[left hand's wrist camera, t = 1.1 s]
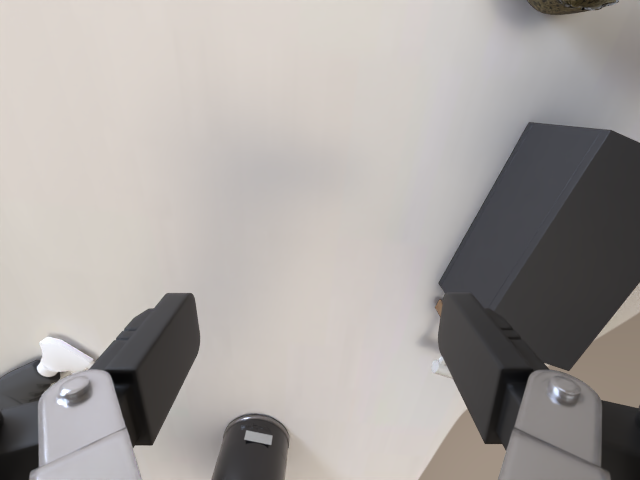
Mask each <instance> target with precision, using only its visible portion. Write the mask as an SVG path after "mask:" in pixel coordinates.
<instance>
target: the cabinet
mask: <svg viewBox="0 0 640 480" xmlns="http://www.w3.org/2000/svg"><path fill="white" fill-rule="evenodd" d="M639 282H640V143H639V142H637V141H634V140H632V139H630V138H628V137H625V136H623V135H621V134H619V133H616V132H614V131H612V130H604V129H593V128H583V127H572V126H562V125H552V124H541V123H532V122H529V124H528V125H527V127H526V129H525V131H524V132H523V134H522V136H521V138H520V140H519V141H518V143H517V145H516V147H515V148H514V150H513V152H512V154H511V156H510V157H509V159H508V161H507V163H506V164H505V166H504V168H503V170H502V172H501V173H500V175H499V177H498V179H497V180H496V182H495V184H494V186H493V187H492V189H491V191H490V193H489V195H488V196H487V198H486V200H485V202H484V203H483V205H482V207H481V209H480V211H479V212H478V214H477V216H476V218H475V219H474V221H473V223H472V225H471V227H470V228H469V230H468V232H467V234H466V235H465V237H464V239H463V241H462V243H461V244H460V246H459V248H458V250H457V251H456V253H455V255H454V257H453V259H452V260H451V262H450V264H449V266H448V267H447V269H446V271H445V273H444V275H443V276H442V278H441V280H440V282H439V285H440V286H441V288H442V289H443V291H444V292H445V294H446V293H472V294H473V295H474V296H475V298H476V299H477V300H478V301H479V303H480V304H481V305H482V306H483V307H484V308H490V309H491V310H493V311H494V312H496V313H498V314H499V315H501V316H502V317H504V318H505V319H506V320H507V322H508V323H509V324H510V325H511V326H512V327H513V330H515V331H516V332H517V333H518V334H519V335H520V336H521V340H524V341H525V342H526V343H527V344H528V346H529V347H530V348H531V349H532V350H533V351H534V353H535V354H536V355H537V356H538V357H539V358H540V359H541V361H542V362H543V363H546V364H549V365H552V366H555V367H558V368H561V369H564V370H567V371H569V370H570V369H571V368H572V367H573V365H574V364H575V363H576V362H577V360H578V359H579V358H580V357H581V355H582V354H583V353H584V352H585V350H586V349H587V348H588V347H589V345H590V344H591V343H592V342H593V340H594V339H595V338H596V337H597V335H598V334H599V333H600V332H601V330H602V329H603V328H604V326H605V325H606V324H607V323H608V321H609V320H610V319H611V318H612V316H613V315H614V314H615V313H616V311H617V310H618V309H619V308H620V306H621V305H622V304H623V303H624V301H625V300H626V299H627V298H628V296H629V295H630V294H631V293H632V291H633V290H634V289H635V287H636V286H637V285H638V284H639Z"/></svg>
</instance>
